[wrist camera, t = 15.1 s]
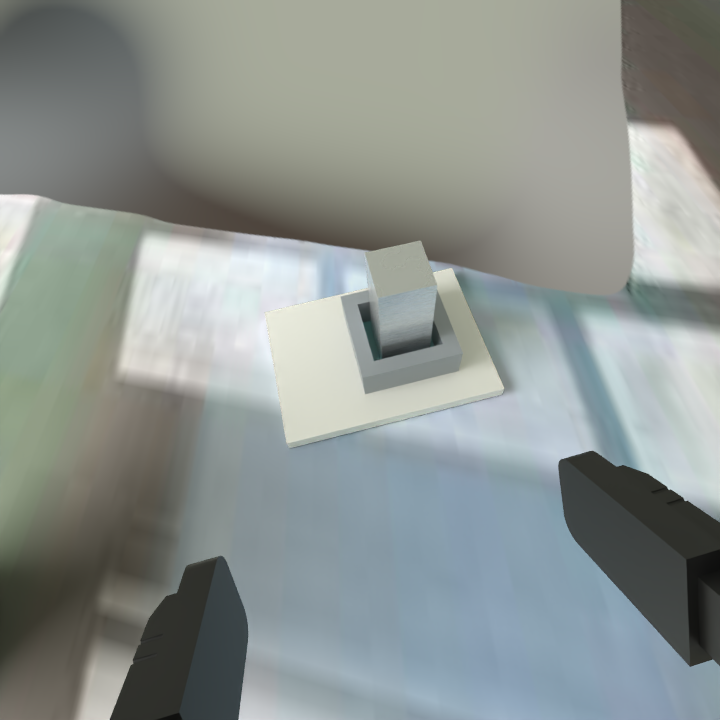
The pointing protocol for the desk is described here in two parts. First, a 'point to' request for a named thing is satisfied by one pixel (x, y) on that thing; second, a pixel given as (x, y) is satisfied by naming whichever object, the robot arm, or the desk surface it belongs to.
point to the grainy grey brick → (401, 298)
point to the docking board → (372, 365)
